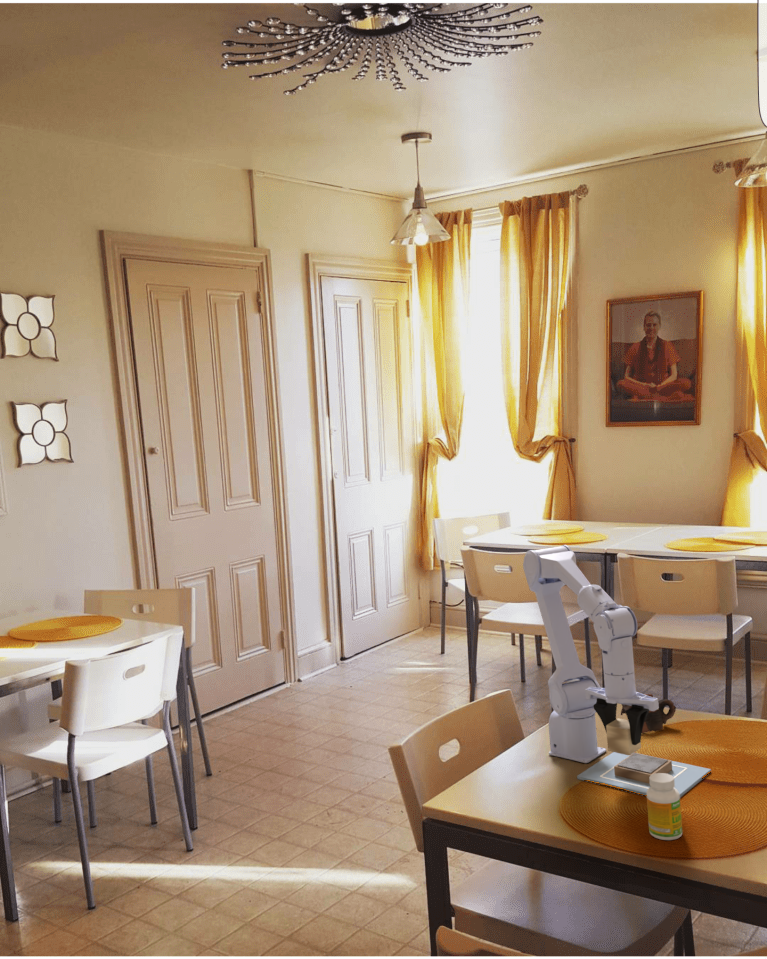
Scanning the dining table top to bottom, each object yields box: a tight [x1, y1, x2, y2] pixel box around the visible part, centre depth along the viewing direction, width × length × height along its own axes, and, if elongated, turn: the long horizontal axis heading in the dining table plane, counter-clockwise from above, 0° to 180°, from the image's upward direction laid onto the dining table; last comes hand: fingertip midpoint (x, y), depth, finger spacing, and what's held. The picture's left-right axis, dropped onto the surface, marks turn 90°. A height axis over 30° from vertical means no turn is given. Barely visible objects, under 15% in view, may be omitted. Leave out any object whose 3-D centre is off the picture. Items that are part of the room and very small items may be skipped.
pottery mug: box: [620, 693, 677, 734], centre depth 196 cm, size 12×10×8 cm
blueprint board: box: [576, 752, 712, 798], centre depth 170 cm, size 20×16×3 cm
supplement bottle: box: [646, 773, 683, 841], centre depth 146 cm, size 5×5×10 cm
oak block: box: [605, 718, 642, 755], centre depth 167 cm, size 4×4×5 cm
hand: (624, 740), depth 167 cm, fingers closed on oak block, 4 cm apart
